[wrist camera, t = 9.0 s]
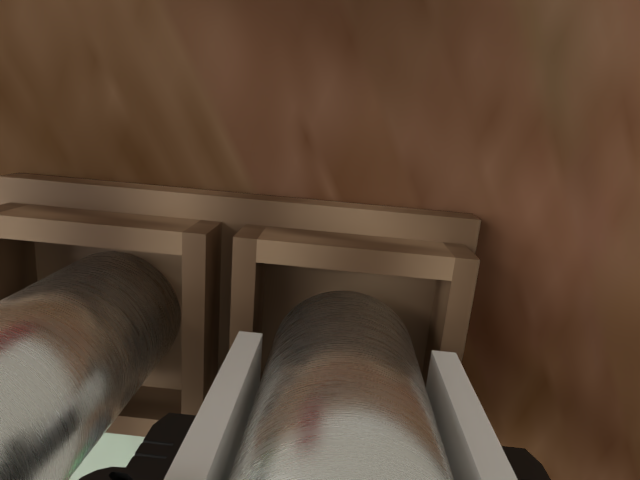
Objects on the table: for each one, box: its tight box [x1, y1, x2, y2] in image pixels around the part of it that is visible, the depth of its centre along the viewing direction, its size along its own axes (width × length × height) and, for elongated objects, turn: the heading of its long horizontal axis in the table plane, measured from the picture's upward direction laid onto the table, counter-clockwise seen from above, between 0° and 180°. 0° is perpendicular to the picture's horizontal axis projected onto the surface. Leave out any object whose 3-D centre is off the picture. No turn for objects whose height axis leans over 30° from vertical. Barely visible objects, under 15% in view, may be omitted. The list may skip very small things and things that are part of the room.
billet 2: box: [229, 291, 454, 480], centre depth 11 cm, size 5×5×10 cm
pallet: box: [0, 173, 481, 437], centre depth 17 cm, size 18×10×3 cm, turn 85°
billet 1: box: [0, 251, 181, 480], centre depth 13 cm, size 5×5×10 cm
